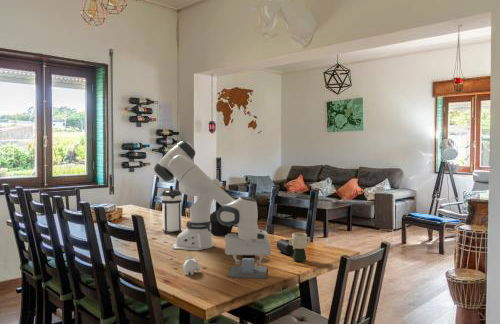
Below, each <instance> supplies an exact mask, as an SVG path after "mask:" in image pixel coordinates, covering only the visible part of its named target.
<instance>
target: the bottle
mask: <svg viewBox="0 0 500 324" xmlns="http://www.w3.org/2000/svg"><path fill="white" fill-rule="evenodd" d="M221 188H222V189H223V190H225V186H224V185H221ZM220 207H221V205H220V204H219V203H218V202H217V201H216V200H215V210H214V211H212V212H210V221H211V235H212V236H225V235H227V234H229V233H231V234H232V230H233V228H234V225H231V226H224V225H222V224H220V223H219V221H218V219H217V211H218V209H219V208H220ZM227 236H228V235H227Z"/></svg>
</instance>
